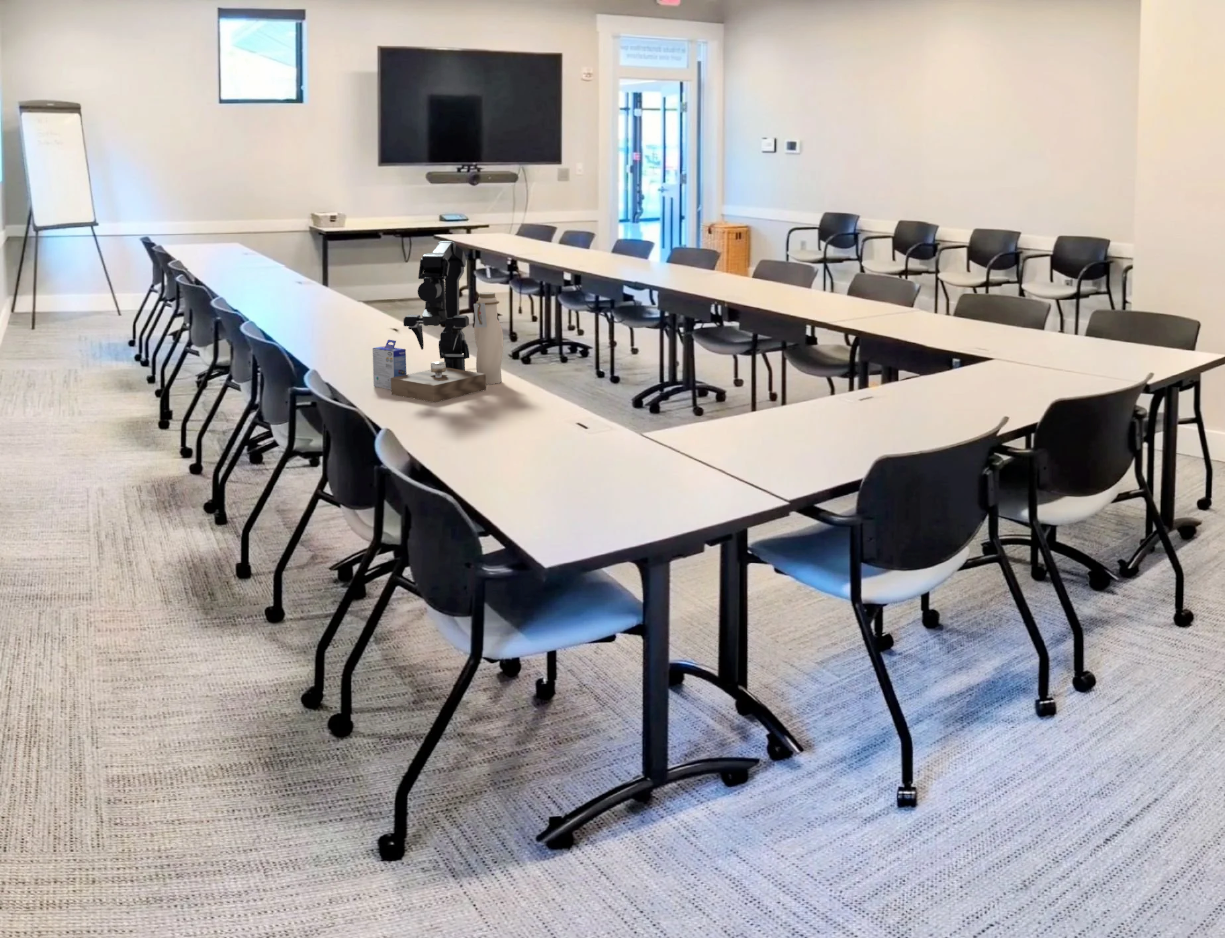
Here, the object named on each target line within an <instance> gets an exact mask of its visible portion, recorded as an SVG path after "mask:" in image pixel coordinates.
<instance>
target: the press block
mask: <svg viewBox="0 0 1225 938" xmlns="http://www.w3.org/2000/svg"><path fill="white" fill-rule="evenodd" d="M486 385H487V384H486V374H483V373H477V371H469V370H466V369H465V370H459V369H452V368H446V372H442V377H440V378H437V377H435V373H434V372H431V369H427V370H422V371H417V372H414V373H413V372H412V373H409V374H407V373H406V375H403V376H398V377H393V378H391V389H390V391H391V392H390V393H391V395H392V396H393V395H394V396H398V397H403V396H404V398H410V399H413V398H415V399H414V400H420V401H424V400H425V401H426V402H430V403H438V402H442V401H445V400H450V399H455V398H458V397H462V396H463V397H464V396H466V395H470V394H476V393H479V392H483V390H484V391H487V386H486ZM441 400H442V401H441Z"/></svg>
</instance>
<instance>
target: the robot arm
mask: <svg viewBox="0 0 1225 938" xmlns="http://www.w3.org/2000/svg"><path fill="white" fill-rule="evenodd" d="M466 266H467V258H466V254H465V252H464V250H463V249H462V248H461V247H459V246H457V243H456V242H455V241H453V240H441V241H438V242H437V246H436V247H435V249H434V250H433V251H432V252H429V253H424V254H423V255H422V257H421V258H420V261H419V268H418V269H419V270H418V277H417V278H418V280H423V282H422V283H420V284H419V286H418V289H417V296H418V298H419V299H421V300H422V301H423V302H425V305H424V306H425V307H424V310H423V312H422V314H408V315H406V316H404V318H403V320H402V321H403V327H408V328H407V329H408V330H411V331H412V332H413V333H414V335H415V337H416V339H417V341H418V344H419V347H420V349H421V350H424V343H425V342H424V333H423V326H425V327H429V326H434V327H437V326H440V325H445V327H444V329H443V330H442V331H441V333H440V334H439V335H440V339H439V341H438V350H439V351H438V352H439V359H441V360H442V359H443V362H445V363H446V368H452V369H459V370H465V371H466V361H465V360H466V359H470V349H469V344H468V343H467V340H466V339H465V333H464V331H463V330H464V329H465V328H467V327H468V326H469V325H470V318H469V316H468V315H467V314H466V315H465V314H461V315H460V280H461V278H462V276H463V275H464V274H465V268H466ZM421 316H422V317H421Z"/></svg>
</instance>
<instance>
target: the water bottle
mask: <svg viewBox="0 0 1225 938" xmlns="http://www.w3.org/2000/svg"><path fill="white" fill-rule="evenodd" d="M478 294H479V296H478V298H477V299H478V300H477V301H476V302H475V303H473V310H474V325H473V330H474V331H473V332H474V333H473V334H474V340H475V345H476V348H477V349H476V360H475V361H476V362H475V363H476V364H475V368H476V372H477V373H483V374H486V385H496V384H495V383H498V384H500V383H499V382H501V383H502V381H503V380H502V368H501V367H502V360H503V356H504V355H503V353H504V332H503V327H502V325H501V322H500V321H499V320H498V304H500V301H499V300H497V297H496V292H493V291H490V292H489V291H484V292H482V291H481V292H479V293H478Z"/></svg>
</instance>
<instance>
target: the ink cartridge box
mask: <svg viewBox="0 0 1225 938" xmlns="http://www.w3.org/2000/svg"><path fill="white" fill-rule="evenodd" d="M389 343H392V344H389ZM396 343H397V340H393V339H388V340H387V341H386V344H385V346H377V347H373V348H372V373H373V374H372V375H373V379H372V380H373V387H375V388H376V387H377V388H383V389H386V390H391V378H393V377H398V376H403V375H407V353H406V351H407V350H406V349H405V348H401V347H395V345H396Z"/></svg>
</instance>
